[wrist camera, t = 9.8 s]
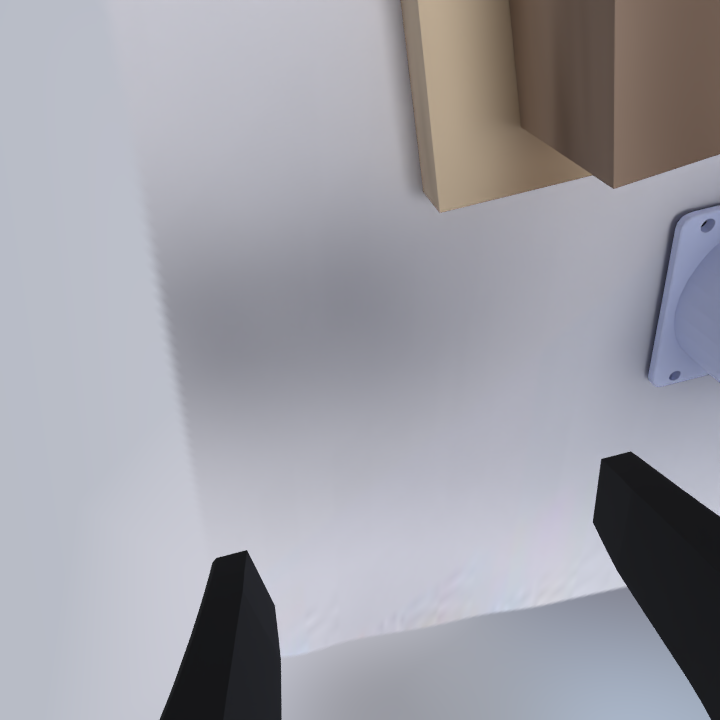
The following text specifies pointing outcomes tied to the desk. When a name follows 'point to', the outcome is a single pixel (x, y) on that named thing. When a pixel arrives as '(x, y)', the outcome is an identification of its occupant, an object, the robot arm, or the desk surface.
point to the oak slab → (472, 106)
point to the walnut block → (620, 82)
